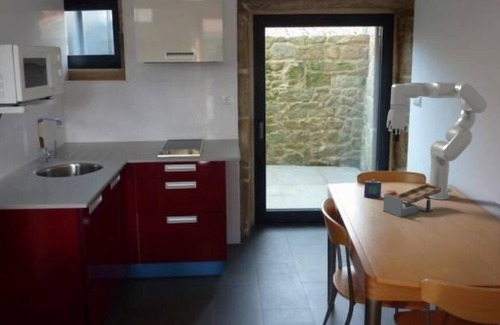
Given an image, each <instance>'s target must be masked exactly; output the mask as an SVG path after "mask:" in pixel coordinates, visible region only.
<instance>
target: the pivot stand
mask: <svg viewBox="0 0 500 325" xmlns="http://www.w3.org/2000/svg"><path fill="white" fill-rule="evenodd" d="M431 202H432V199H430V200H428V199H426V206H425V207H423V206H421V205H417V204H415V203H410V202H407V201H406V203H409V204H412V205H416V206H418V207H417V211H420V212H423V213H427V214H428V213H432V212H433V209H431V205H432V204H431Z"/></svg>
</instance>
